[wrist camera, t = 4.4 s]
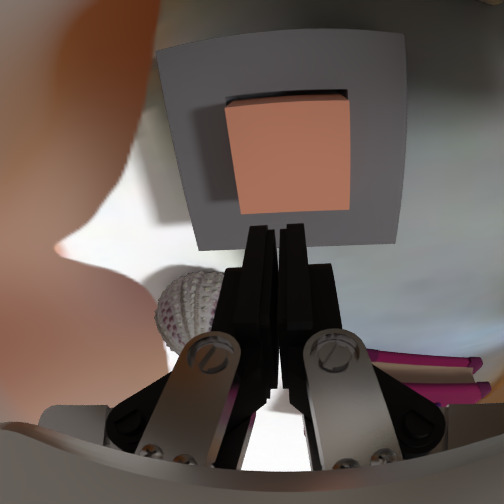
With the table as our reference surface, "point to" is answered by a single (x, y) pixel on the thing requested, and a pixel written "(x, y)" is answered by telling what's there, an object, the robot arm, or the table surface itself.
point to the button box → (288, 84)
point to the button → (291, 152)
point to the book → (434, 376)
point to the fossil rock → (492, 2)
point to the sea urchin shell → (188, 308)
